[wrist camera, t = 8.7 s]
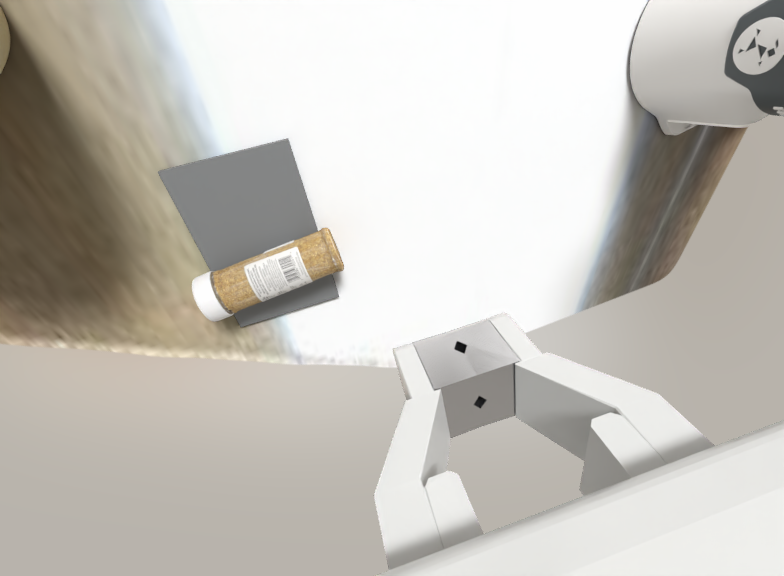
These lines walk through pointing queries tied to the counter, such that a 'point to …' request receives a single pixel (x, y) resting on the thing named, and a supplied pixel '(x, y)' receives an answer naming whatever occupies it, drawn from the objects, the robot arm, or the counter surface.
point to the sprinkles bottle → (266, 275)
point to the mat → (248, 216)
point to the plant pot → (4, 40)
